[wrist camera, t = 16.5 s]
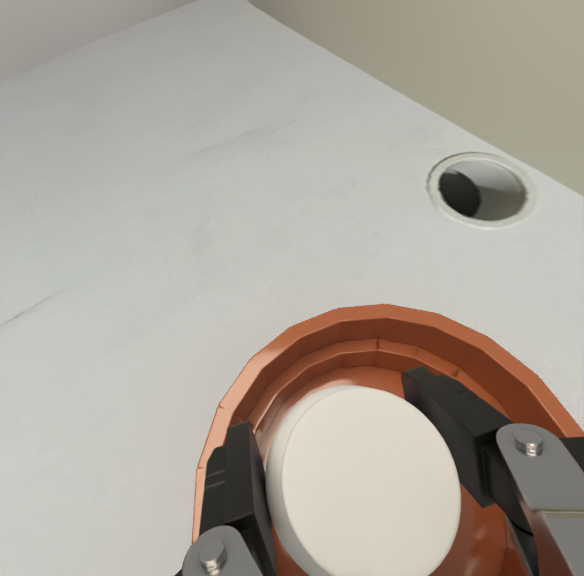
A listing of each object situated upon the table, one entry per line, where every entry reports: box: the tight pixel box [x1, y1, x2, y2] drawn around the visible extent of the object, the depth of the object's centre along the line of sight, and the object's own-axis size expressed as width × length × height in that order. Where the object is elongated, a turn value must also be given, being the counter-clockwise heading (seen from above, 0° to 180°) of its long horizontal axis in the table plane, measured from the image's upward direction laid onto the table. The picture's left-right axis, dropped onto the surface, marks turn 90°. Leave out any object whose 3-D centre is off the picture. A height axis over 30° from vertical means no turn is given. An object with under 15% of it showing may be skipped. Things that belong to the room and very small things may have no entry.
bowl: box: [192, 304, 584, 576], centre depth 15 cm, size 16×16×6 cm
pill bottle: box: [266, 385, 461, 576], centre depth 12 cm, size 5×5×10 cm
